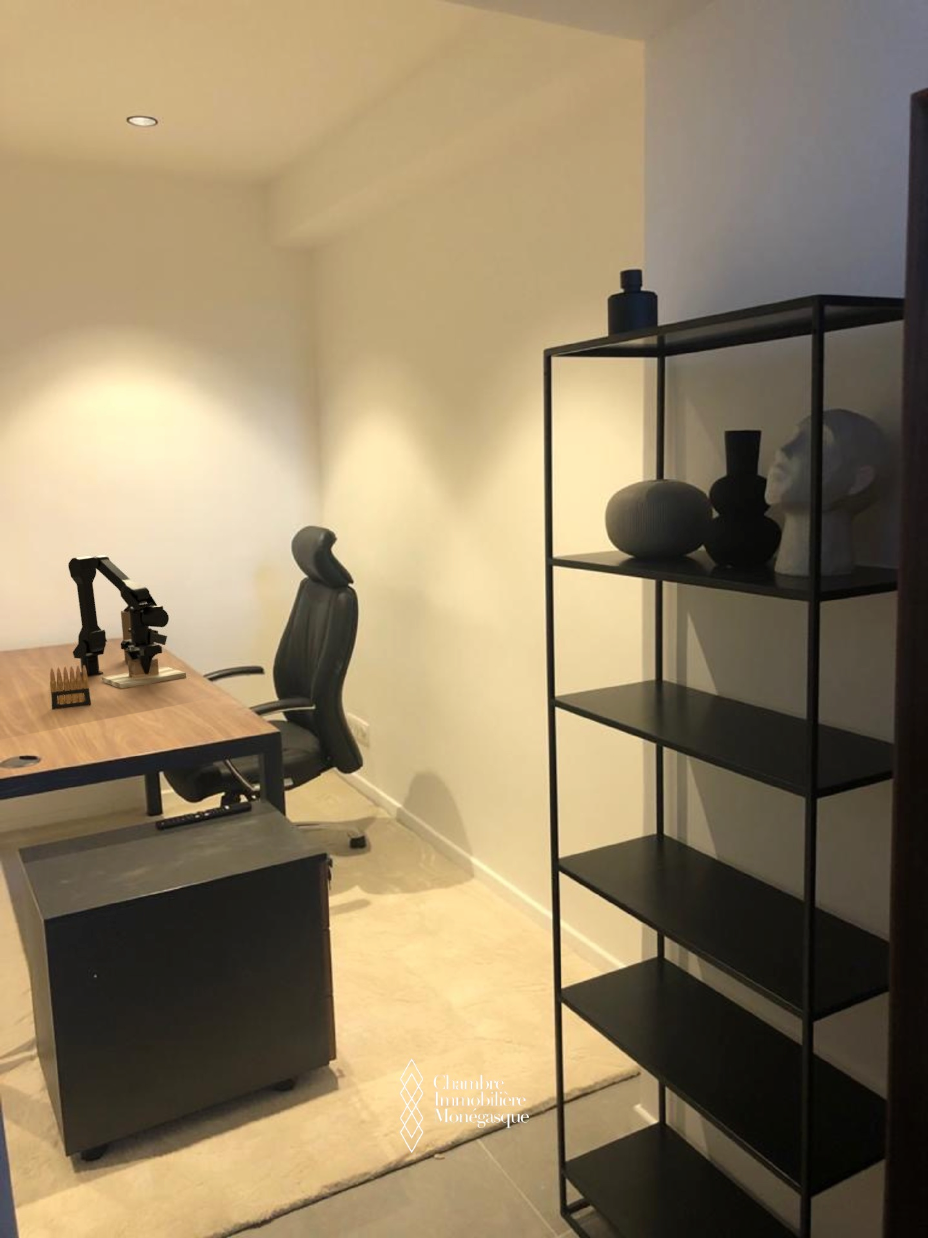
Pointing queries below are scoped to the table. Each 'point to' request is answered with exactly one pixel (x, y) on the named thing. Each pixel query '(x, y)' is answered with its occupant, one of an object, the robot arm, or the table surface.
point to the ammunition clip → (69, 689)
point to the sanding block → (137, 669)
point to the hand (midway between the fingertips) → (143, 672)
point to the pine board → (143, 678)
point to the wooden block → (125, 630)
